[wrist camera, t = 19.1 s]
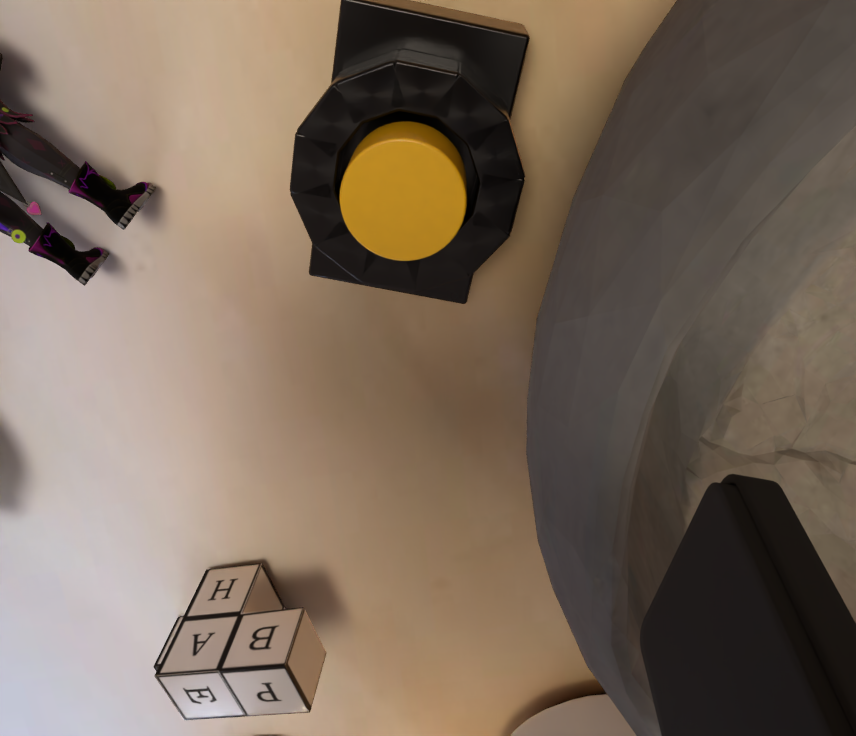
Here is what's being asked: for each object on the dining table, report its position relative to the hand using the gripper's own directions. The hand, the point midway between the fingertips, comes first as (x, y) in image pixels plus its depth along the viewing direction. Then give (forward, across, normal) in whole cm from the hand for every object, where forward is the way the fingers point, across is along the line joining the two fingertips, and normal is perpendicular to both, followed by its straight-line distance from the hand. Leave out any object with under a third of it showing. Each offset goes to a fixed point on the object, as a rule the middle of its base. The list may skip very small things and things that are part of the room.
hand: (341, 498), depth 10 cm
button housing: (+16, 0, 0) cm, 16 cm away
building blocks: (+13, 0, +20) cm, 24 cm away
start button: (+13, 0, 0) cm, 13 cm away
